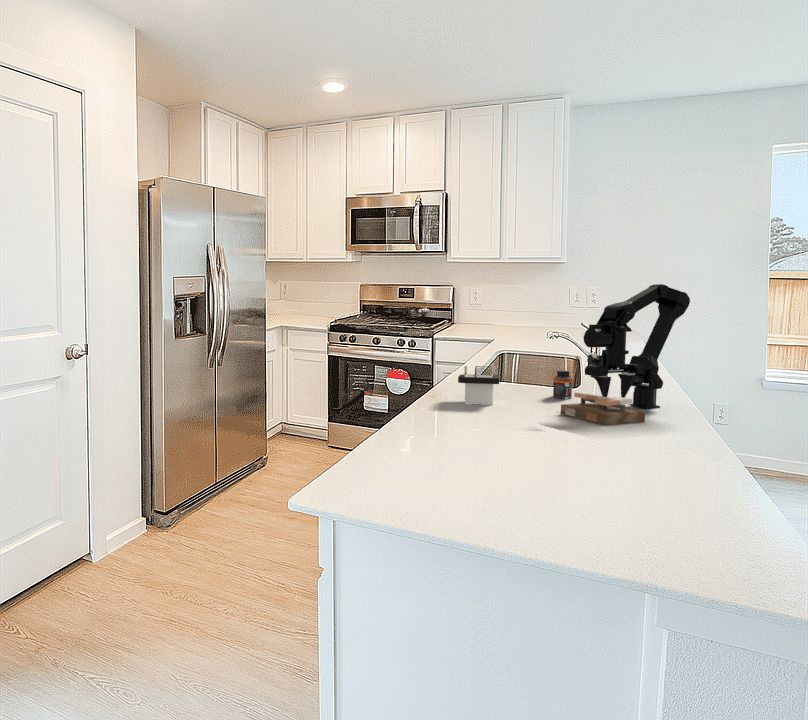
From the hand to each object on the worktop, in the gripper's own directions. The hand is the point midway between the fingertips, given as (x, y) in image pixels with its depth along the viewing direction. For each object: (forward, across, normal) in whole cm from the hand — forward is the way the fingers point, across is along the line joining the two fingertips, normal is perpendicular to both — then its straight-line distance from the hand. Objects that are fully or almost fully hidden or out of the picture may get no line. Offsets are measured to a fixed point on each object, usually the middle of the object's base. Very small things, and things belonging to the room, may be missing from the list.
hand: (613, 398), depth 178 cm
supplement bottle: (+5, +3, -20) cm, 21 cm away
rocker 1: (0, +9, 0) cm, 9 cm away
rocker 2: (0, +9, +9) cm, 13 cm away
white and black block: (+5, +32, -26) cm, 41 cm away
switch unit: (+5, +9, +4) cm, 11 cm away
